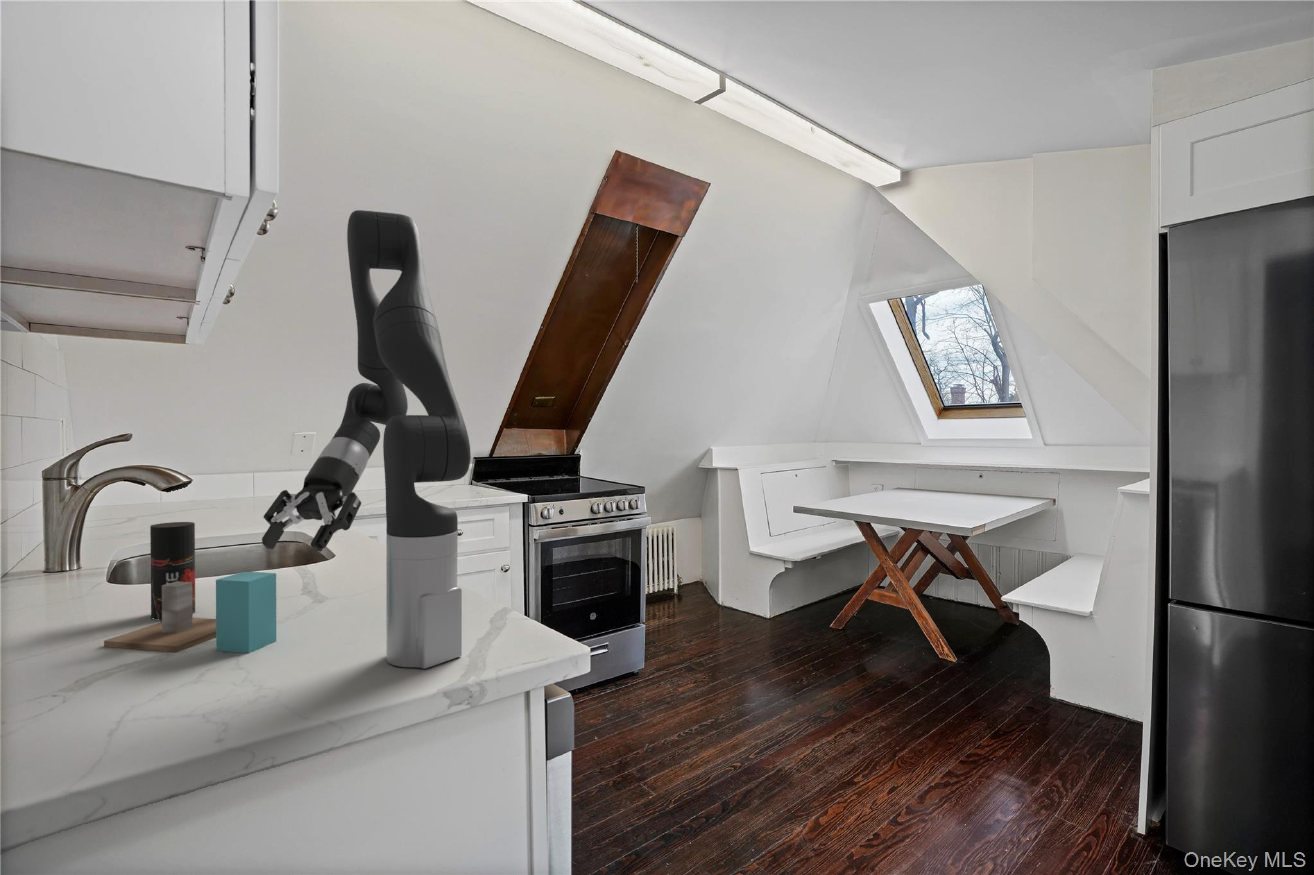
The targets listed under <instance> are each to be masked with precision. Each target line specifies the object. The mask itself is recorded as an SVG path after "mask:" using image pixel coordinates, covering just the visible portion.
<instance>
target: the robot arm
mask: <svg viewBox="0 0 1314 875" xmlns="http://www.w3.org/2000/svg"><path fill="white" fill-rule="evenodd" d="M348 217H349V218H348V222H347V229H346V230H347V232H346V234H347V236H346V238H347V239H346V241H347V242H346V243H347V244H346V245H347V254H348V263H349V264H348V265H349V273H350V284H351V291H352V299H353V304H354V311H355V319H356V327H357V329H356V331H357V370H358V373H359V374H360V376H361V377H362V378H364V379H366V380H368V381H369V382H372V383H368V382H362V383H358V384H356V385H354V386H353V387H352V388H351V390H349V393H348V396H347V400H346V406H345V410H344V414H343V418H342V420H341V423H340V426H339V427H338V428H337V430H336V432H335V433H334V435H333V437H332V438H331V439H330V442H328V444H326V445H325V447H324V448H323V449H322V451H321V453H320V454H319V455H318V457H317V459H316V461H315V462H313V465H312V466H311V467H310V469H309V471H308V473H307V474H306V475H305V477H304V480H303V487H302V489H300V491H299V492H297V493H290V492H289V491H288V490H287V489H284V490H281V492H280V493H279V494H278V496H277V497H276V498H275V500H274V501H273V503H272V504H271V505H270V506H269V508H268V509H267V510H266V512H265V514H264V515H263V519H264V520H265V521H266V522H267V523H268V524H269V527H268V528H267V529H266V532H264V535H263V536H262V538H261V543H262V545H263V546H264V547H265V548H266V549H268V550H273V549H275V548H276V546H277V544H278V542H279V540H280V539H281V537H282V536H283V534H284V532H285V530H287V529H288V528H289V527H291V526H292V525H294V524H295V525H298V524H300V523H301V522H302V521H304V520H305V521H307V520H316V521H323V524H321V525H320V526H319V528H318V530H317V531H316V533H315V535H314V537H313V539H312V540H311V542H310V546H311V548H312V549H313V550H314V551H315V552H322V551H323V550H324V549H325V548H326V547H327V546H328V544H329V542H330V541H331V539H332V537H333V536H334V534H336V533H337V532H338V531H340V530H343V531H348V530H349V529H350V528H351V526H352V524H353V522H354V519H355V518H356V516H357V514H358V511H359V509H360V508H361V505H362V501H361V500H360V498H359V497H358V495H357V494H356V492H353V491H354V489H355V487H356V486H357V484H358V482H359V481H360V479H361V477H362V476H363V474H364V471H365V470H366V467H367V465H368V463H369V460H370V458H371V456H372V455H373V453H374V451H375V449H376V447H377V446H378V444H379V442H380V439H381V432H380V430H379V428H378V426H377V425H375V424H374V423H377V424H380V425H383V426H384V425H385V427H384V430H383V431H384V432H383V440H382V441H383V442H382V443H383V444H382V448H383V450H382V451H383V452H382V453H383V467H384V469H383V470H384V486H385V516H386V519H385V520H386V528H385V530H386V539H385V540H386V543H385V544H386V559H385V560H386V563H385V564H386V567H385V568H386V569H385V570H386V574H385V575H386V577H385V578H386V579H385V580H386V581H385V582H386V583H385V585H386V587H385V589H386V590H385V592H386V595H385V596H386V598H385V599H386V603H385V604H386V609H385V610H386V621H385V623H386V626H385V627H386V630H385V631H386V661H387V663H388V664H390V665H392V666H396V667H400V668H401V667H403V668H420V669H423V670H424V669H429V668H430V667H434V666H437V665H440V664H442V663H445V662H448V661H450V660H453V659H456V658H458V657H462V655H463V653H462V650H463V649H462V647H463V646H462V641H463V636H462V635H463V634H462V632H463V631H462V630H463V629H462V628H463V627H462V626H463V623H462V621H463V620H462V618H463V614H462V612H463V610H462V608H463V590H462V588H461V587H459V586H458V533H459V532H458V530H459V529H458V528H459V527H458V525H459V523H458V522H459V520H458V519H459V518H458V514H457V512H456V511H455V510H454V509H453V508H451V507H447V506H443V505H439V504H436V503H433V502H430V501H427V500H426V499H424V498H423V497H421V496H419V495H418V494H417V492H416V487H415V486H416V485H415V484H416V483H440V482H453V481H458V480H461V479H462V478H464V477H465V476H466V475H467V474H468V472H469V470H470V469H469V468H470V465H471V456H472V455H471V444H470V438H469V434H468V430H467V426H466V424H465V420H464V416H463V415H462V412H461V408H460V406H459V403H458V400H457V397H456V394H455V392H454V389H453V386H452V382H451V379H450V376H449V371H448V368H447V363H446V359H445V358H446V357H445V354H444V349H443V344H442V338H441V332H440V330H439V325H438V321H437V320H438V319H437V317H436V315H435V310H434V307H433V304H432V300H431V296H430V292H429V288H428V285H427V284H428V283H427V278H426V272H425V264H424V258H423V251H422V244H421V238H420V237H421V236H420V233H419V229H418V226H417V224H416V222H415V220H414V219H413V218H412V217H411V216H408V215H405V214H401V213H394V212H383V211H374V210H363V209H362V210H360V209H358V210H357V209H356V210H353V211H352V212H351V213H350V215H349V216H348ZM371 269H373V270H374V269H375V270H376V269H377V270H393V271H399V272H401V273H400V274H399V278H398V279H397V281H396V282H395V284H394V285H393V286H392V287H391V288H390V290H388V292H387V293H386V294H385V295H384V296H383V298H382V299H381V300H380V298H379V297H378V295H377V293H376V291H375V288H374V287H373V283H372V280H371ZM405 387H406V388H407V389H408V390H409V391H410V392H412V394H413V395H414V396H416V398H417V399H418V400H419V402H420V404H422V406H423V408H424V409H425V411H426V413H427V414H425V415H423V414H420V415H419V414H418V415H417V414H416V415H414V414H408V408H409V407H408V406H409V405H408V404H409V403H408V397H407V393H406V390H405ZM407 414H408V415H407ZM339 509H340V510H339ZM295 510H296V512H297V513H298V514H296V515H295V514H294V513H293V511H295ZM337 510H339V512H338V514H337V515H336V511H337ZM286 518H288V519H286ZM284 519H286V520H284ZM283 520H284V521H283Z"/></svg>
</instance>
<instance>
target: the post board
mask: <svg viewBox="0 0 1314 875" xmlns="http://www.w3.org/2000/svg"><path fill="white" fill-rule="evenodd" d="M214 638H216V618H207V617H205V618H203V617H193V614H192V582H178V581H177V582H173V583H170V584H166V585H162V620H161V622H157V623H154V624H151V625H148V626H145V627H142V628H139V629H136V630H133V631H130V632H127V633H122V634H120V635H118V636H115V637H111V638H108V639H106V640H103V647H105V648H106V647H107V648H108V647H109V648H121V649H132V650H147V651H148V650H149V651H159V652H175V653H177V652H180V651H183V650H186V649H188V648H190V647H193V646H196V645H199V644H201V643H204V642H206V641H208V640H209V641H210V640H211V639H214Z"/></svg>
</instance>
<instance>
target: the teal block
mask: <svg viewBox="0 0 1314 875" xmlns="http://www.w3.org/2000/svg"><path fill="white" fill-rule="evenodd" d="M215 619H216V637H215V639H216V640H215V642H216V644H215V648H216V650H215V651H217V652H230V653H231V652H232V653H233V652H234V653H243V654H250V653H252V652H254V651H257V650H259V649H261V648H264V647H266V646H267V645H268V646H269V645H270V644H273V643H275V642H277V573H275V572H258V571H242V572H239V573H238V572H237V573H235V574H232V575H227V576H225V577H222V578H217V579H215Z"/></svg>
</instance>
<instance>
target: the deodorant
mask: <svg viewBox="0 0 1314 875" xmlns="http://www.w3.org/2000/svg"><path fill="white" fill-rule="evenodd" d="M195 526H196V523H195V522H193V521H174V522H162V523H161V522H160V523H155V524H151V525H150V529H149V532H150V535H149V536H150V537H149V538H150V543H149V544H150V618H151V619H152V618H154V619H153V620H155V619H159V620H158V621H160V620H161V621H162V585H166V584H170V583H173V582H177V581H178V582H192V615H194V614H195V613H196V542H195V541H196V533H195V532H196V531H195V530H196V528H195ZM193 613H194V614H193Z"/></svg>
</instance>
